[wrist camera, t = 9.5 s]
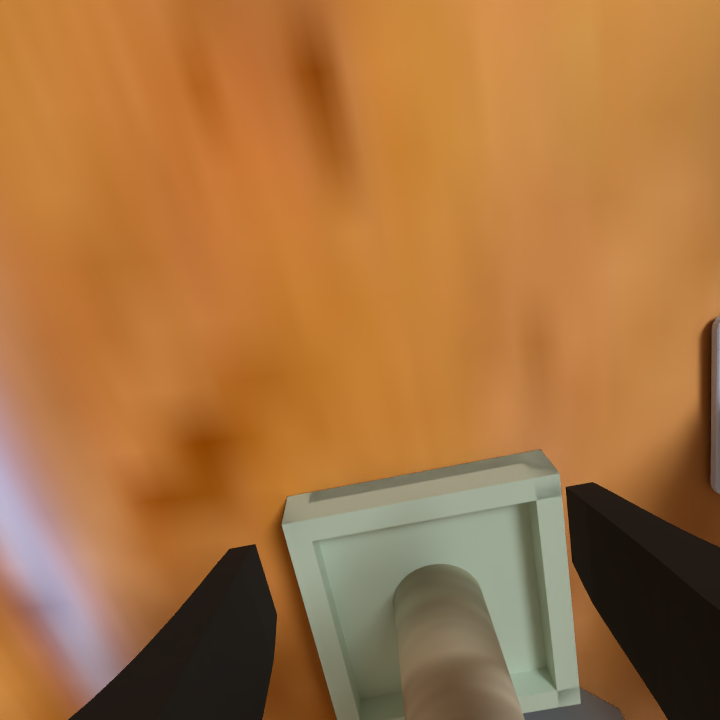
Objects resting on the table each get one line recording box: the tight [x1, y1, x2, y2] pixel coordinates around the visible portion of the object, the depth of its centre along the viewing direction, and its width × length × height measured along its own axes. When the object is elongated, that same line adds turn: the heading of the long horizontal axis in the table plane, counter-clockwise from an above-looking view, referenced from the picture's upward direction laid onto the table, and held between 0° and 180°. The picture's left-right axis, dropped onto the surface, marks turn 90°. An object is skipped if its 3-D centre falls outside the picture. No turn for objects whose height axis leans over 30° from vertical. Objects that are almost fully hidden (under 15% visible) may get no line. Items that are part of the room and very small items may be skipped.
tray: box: [282, 450, 581, 720], centre depth 22 cm, size 11×12×2 cm
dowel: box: [393, 564, 525, 720], centre depth 18 cm, size 4×4×9 cm
